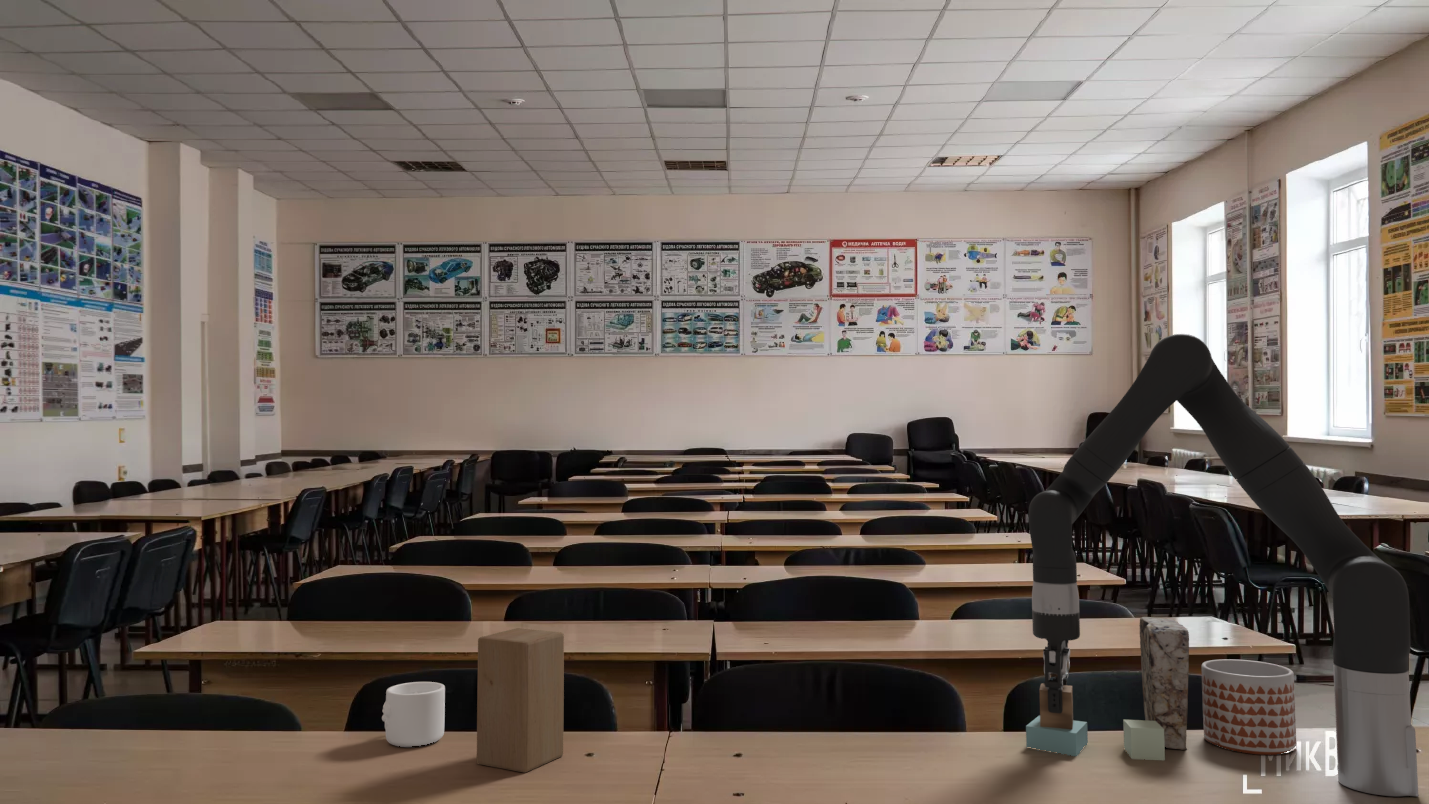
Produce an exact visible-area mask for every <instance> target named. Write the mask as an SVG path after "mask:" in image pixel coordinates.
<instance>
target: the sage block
mask: <svg viewBox="0 0 1429 804" xmlns="http://www.w3.org/2000/svg"><path fill="white" fill-rule="evenodd" d="M1122 720H1123V721H1122V723H1123V724H1122V725H1123V726H1122V727H1123V749H1124V748H1125V750H1126V751H1127V753H1128V754H1129V755H1128V754H1127V753H1126V754H1127V755H1128V757H1130V758H1131V760H1144V759H1145V761H1146V760H1147V761H1166V755H1165V754H1166V752H1165V751H1166V750H1165V745H1164V729H1163V728H1162V727H1161V726H1160V725H1159V724H1158V723H1157V722H1156V721H1148V720H1141V719H1122ZM1125 750H1124V751H1125ZM1126 751H1125V752H1126Z"/></svg>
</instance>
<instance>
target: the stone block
mask: <svg viewBox="0 0 1429 804" xmlns="http://www.w3.org/2000/svg"><path fill="white" fill-rule="evenodd" d="M1189 633H1190V632H1189V630H1188V628H1186V627H1185V626H1184V625H1183V624H1180V623H1179V622H1178V621H1176V620H1174V619H1170V618H1162V617H1150V616H1142V617H1140V618H1139V646H1140V647H1139V648H1140V663H1141V665H1140V666H1141V679H1142V696H1143V710H1144V713H1143V714H1144V719H1145V720H1148V721H1156V722H1157V723H1158V724H1159V725H1160V726H1161V727H1162V728H1163V729H1164V745H1165V747H1166V748H1167V749H1174V750H1182V751H1184V750H1187V736H1188V735H1187V730H1188V729H1187V728H1188V727H1187V726H1188V725H1187V724H1188V705H1189V704H1188V703H1189V701H1188V699H1189V698H1188V696H1189V665H1190V663H1189V657H1190V634H1189Z"/></svg>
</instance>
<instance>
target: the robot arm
mask: <svg viewBox="0 0 1429 804" xmlns="http://www.w3.org/2000/svg"><path fill="white" fill-rule="evenodd" d="M1176 402H1178V404H1180V406H1181V407H1182V408H1183V409H1184V410H1185V411H1186V412H1187V413H1188V414H1189V415H1190V416H1191V417H1192V418H1193V419H1194V420H1195V421H1196V423H1197V424H1198V425H1199V426H1200V428H1201V429H1202V431H1203V432H1204V434H1205V436H1206V437H1207V439H1208V441H1209V442H1210V444H1211V446H1212V447H1213V449H1214V451H1215V452H1216V454H1217V455H1218V458H1220V460H1221V462H1222V463H1223V465H1224V466H1225V468H1226V469H1227V471H1228V472H1229V474H1230V475H1231V476H1232V477H1233V479H1234V480H1236V482H1237V484H1239V486H1240V487H1241V488H1242V490H1243V491H1244V492H1245V493H1246V494H1247V496H1248V497H1249V498H1250V499H1251V501H1253V503H1254V504H1255V505H1256V506H1257V507H1258V508H1259V509H1260V510H1261V511H1262V512H1263V513H1264V515H1266V516H1267V517H1268V518H1269V520H1270V521H1272V522H1273V524H1274V525H1276V526H1277V527H1278V528H1279V529H1280V530H1281V531H1282V532H1283V533H1284V534H1285V535H1286V536H1287V537H1289V538H1290V539H1291V540H1292V542H1294V544H1296V546H1297V547H1298V548H1299V549H1300V551H1301V552H1302V553H1303V554H1304V556H1305V557H1306V559H1307V560H1308V561H1309V563H1310V565H1312V567H1313V569H1314V570H1315V572H1316V573H1317V575H1318V576H1319V578H1320V579H1321V581H1322V583H1323V584H1324V586H1325V587H1326V589H1327V591H1328V593H1329V595H1330V597H1331V598H1332V607H1333V608H1332V611H1333V613H1332V614H1333V644H1332V659H1333V660H1332V661H1333V664H1332V667H1333V668H1332V670H1333V689H1334V691H1333V693H1334V710H1335V713H1334V714H1335V734H1336V757H1337V764H1336V765H1337V767H1336V768H1337V778H1338V782H1339V783H1340V784H1341V785H1343V786H1344V787H1347V788H1349V789H1351V790H1354V791H1359V792H1361V793H1366V794H1370V795H1371V794H1372V795H1379V796H1386V797H1409V796H1410V797H1419V780H1418V779H1419V778H1418V761H1417V759H1418V756H1417V738H1416V737H1417V736H1416V728H1415V727H1414V726H1413V724H1412V712H1411V693H1410V692H1411V691H1410V674H1409V673H1410V671H1409V659H1410V658H1409V657H1410V654H1411V621H1410V620H1411V616H1410V614H1411V613H1410V611H1411V610H1410V595H1409V589H1408V586H1407V583H1406V581H1405V579H1404V577H1403V576H1402V575H1401V573H1400V572H1399V571H1398V570H1397V569H1395V568H1394V567H1393V566H1391V565H1390V564H1388V563H1387V562H1385V561H1383V560H1382V559H1381V558H1380V557H1378V556H1377V554H1375V553H1374V552H1373V551H1372V550H1371V549H1370V547H1368V546H1367V545H1366V544H1365V543H1364V542H1363V541H1362V540H1361V539H1360V538H1359V537H1358V536H1357V535H1356V534H1355V533H1354V532H1353V531H1352V529H1350V528H1349V526H1348V525H1347V524H1346V523H1345V522H1344V520H1343V519H1342V518H1341V517H1340V515H1339V513H1338V512H1337V510H1336V509H1335V507H1334V506H1333V504H1332V502H1331V500H1330V498H1329V497H1328V495H1327V493H1326V492H1325V490H1324V488H1323V487H1322V486H1321V484H1320V483H1319V481H1318V480H1317V478H1316V477H1315V475H1314V474H1313V473H1312V471H1311V470H1310V469H1309V468H1308V466H1307V465H1306V463H1305V462H1304V461H1303V460H1302V458H1301V457H1300V456H1299V455H1298V454H1297V453H1296V452H1295V450H1294V449H1293V448H1292V447H1291V446H1290V444H1289V443H1288V442H1287V441H1286V440H1285V439H1284V438H1283V437H1282V436H1281V434H1279V433H1278V432H1277V431H1276V430H1275V429H1274V428H1273V427H1272V426H1271V425H1270V424H1269V423H1268V422H1267V421H1266V420H1265V419H1264V418H1263V417H1261V416H1260V415H1259V414H1258V413H1257V412H1255V410H1253V409H1252V408H1250V406H1248V405H1247V403H1245V402H1244V401H1243V400H1242V399H1241V398H1240V396H1239V395H1238V394H1237V393H1236V392H1235V391H1234V389H1233V387H1232V386H1231V385H1230V383H1229V382H1228V380H1227V379H1226V378H1225V377H1224V375H1223V373H1222V372H1221V370H1220V369H1219V367H1218V366H1217V364H1216V363H1215V361H1214V358H1212V353H1211V351H1210V349H1209V347H1208V346H1207V345H1206V343H1205V342H1204V341H1203V340H1202V339H1200V338H1199V337H1196V336H1195V335H1191V334H1189V333H1188V334H1187V333H1186V334H1185V333H1175V334H1171V335H1169V336H1166V337H1164V338H1162V339H1161V340H1159V341H1158V342H1157V343H1156V344H1155V345H1154V346H1153V348H1152V350H1151V351H1150V354H1149V356H1148V358H1147V360H1146V361H1145V364H1144V365H1143V366H1142V369H1141V370H1140V371H1139V373H1138V375H1137V377H1136V378H1135V380H1134V382H1133V383H1132V385H1131V386H1130V387H1129V388H1128V390H1127V391H1126V393H1125V394H1124V395H1123V397H1122V398H1121V399H1120V400H1119V402H1118V403H1117V404H1116V405H1115V406H1114V408H1113V409H1112V410H1111V411H1110V412H1109V413H1108V414H1107V416H1105V417H1104V419H1102V420H1101V422H1100V423H1099V424H1098V425H1097V426H1096V427H1095V428H1094V430H1093V431H1092V432H1091V433H1090V434H1089V435H1088V436H1087V438H1085V440H1084V441H1083V442H1082V443H1081V444H1080V445H1079V447H1078V448H1077V449H1076V450H1075V451H1074V453H1073V454H1072V455H1071V456H1070V458H1068V459H1067V461H1066V463H1065V464H1064V466H1063V470H1062V471H1061V472H1060V474H1059V475H1058V476H1057V477H1056V478H1055V479H1054V481H1053V482H1052V483H1051V484H1050V485H1049V486H1048V487H1047V488H1046V489H1045V491H1041V492H1038V493H1037V494H1036V495H1035V496H1033V498H1032V499H1031V501H1030V503H1029V506H1028V528H1029V535H1030V541H1031V547H1032V591H1031V609H1032V610H1031V612H1032V613H1031V615H1032V616H1031V617H1032V635H1033V636H1034V637H1036V638H1037V639H1042V640H1043V639H1044V640H1046V641H1047V645H1046V646H1045V647H1044V648H1043V650H1042V652H1043V653H1042V658H1043V663H1044V664H1043V673H1044V682H1043V684H1044V685H1045V687H1046V688H1047V689H1048V711H1049V712H1051V713H1062V711H1063V703H1062V689H1063V685H1068V678H1069V671H1070V667H1071V664H1070V662H1071V661H1070V658H1071V649H1070V648H1069V642H1070V641H1074V640H1077V639H1080V636H1081V628H1080V627H1081V625H1080V624H1081V623H1080V620H1081V619H1080V596H1079V594H1080V593H1079V590H1078V589H1079V588H1078V583H1077V582H1078V575H1077V574H1078V573H1077V572H1078V571H1077V557H1076V553H1075V551H1074V549H1073V524H1074V523H1075V521H1077V519H1078V518H1079V517H1080V515H1081V514H1082V513H1083V512H1084V510H1085V509H1086V508H1087V506H1088V505H1089V503H1090V502H1091V501H1092V499H1094V497H1095V496H1096V494H1097V493H1098V492H1099V491H1100V490H1101V489H1103V488H1104V486H1105V485H1106V484H1107V483H1108V482H1109V481H1110V480H1111V479H1112V477H1113V476H1114V475H1115V474H1116V473H1117V472H1118V470H1119V469H1120V468H1121V467H1122V466H1123V465H1124V464H1125V462H1126V461H1127V460H1128V458H1129V457H1130V456H1131V455H1132V453H1133V452H1134V451H1135V449H1136V448H1137V447H1138V445H1139V444H1140V442H1141V441H1142V439H1143V438H1144V436H1145V435H1146V434H1147V432H1149V430H1150V428H1151V427H1152V426H1153V425H1155V424H1154V423H1155V422H1156V421H1157V420H1158V419H1159V418H1160V417H1161V416H1162V415H1163V414H1164V413H1165V411H1167V410H1168V409H1169V407H1171V406H1172V405H1173V404H1174V403H1176ZM1051 678H1052V679H1051Z"/></svg>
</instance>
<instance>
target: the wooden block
mask: <svg viewBox="0 0 1429 804" xmlns="http://www.w3.org/2000/svg"><path fill="white" fill-rule="evenodd" d="M564 644H565V635H564V633H563V632H560V631H550V630H541V629H532V628H531V629H530V628H520V627H517V628H516V627H515V628H513V629H509V630H505V631H500V632H496V633H491V634H488V635H484V636H480V637H479V638H478V639H477V687H476V688H477V692H476V693H477V696H476V697H477V698H476V699H477V704H476V706H477V707H476V710H477V712H476V764H478V765H481V766H482V765H483V766H488V767H492V768H497V769H503V770H509V771H514V772H520V773H524V774H525V773H528V772H529V771H532V770H534V769H537V768H539V767H541V766H544V765H545V764H547V763H550V762H552V761H554V760H556V759H559V758H561V757H563V756H564V699H565V696H564V695H565V694H564V692H565V690H564V686H565V685H564V684H565V683H564V682H565V681H564V680H565V677H564V675H565V673H564V671H565V666H564V665H565V661H564V660H565V657H564V656H565V645H564Z"/></svg>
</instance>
